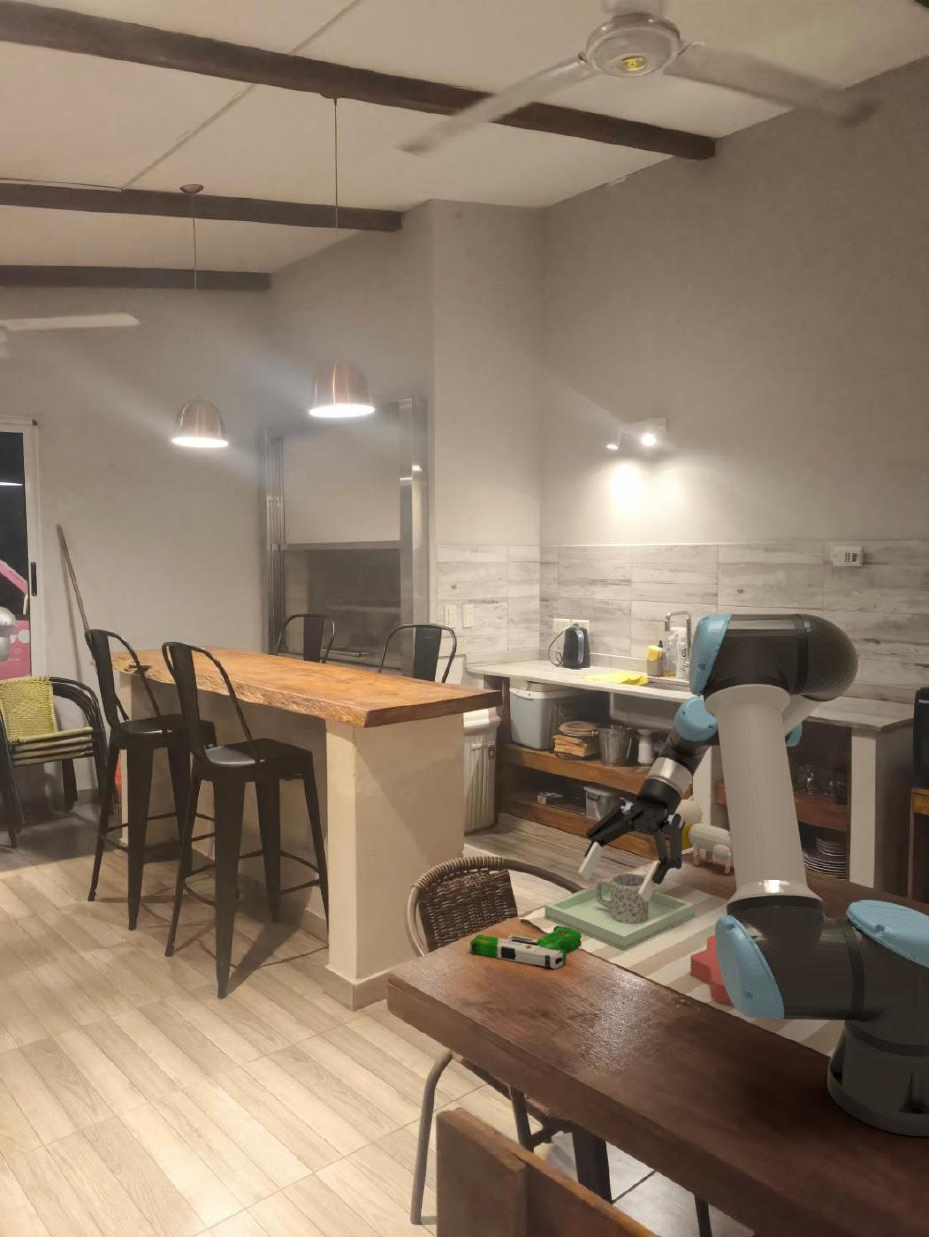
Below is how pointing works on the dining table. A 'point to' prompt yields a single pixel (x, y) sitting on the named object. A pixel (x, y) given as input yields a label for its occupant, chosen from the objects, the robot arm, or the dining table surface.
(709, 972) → the plaque
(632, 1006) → the dining table surface
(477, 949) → the handgun
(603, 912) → the tray
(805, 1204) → the dining table surface
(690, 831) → the toy
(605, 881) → the mug
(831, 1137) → the dining table surface
